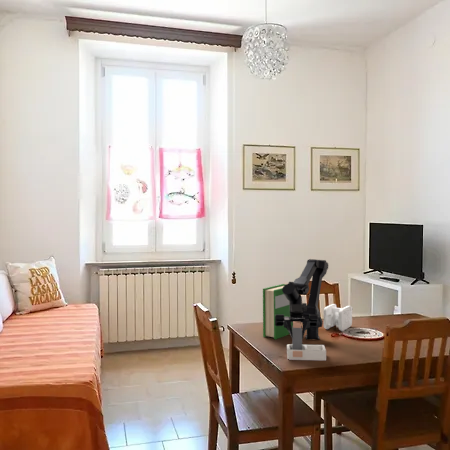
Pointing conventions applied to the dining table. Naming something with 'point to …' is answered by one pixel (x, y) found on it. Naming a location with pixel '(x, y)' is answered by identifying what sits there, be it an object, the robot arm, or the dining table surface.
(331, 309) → the cable organizer
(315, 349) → the socket strip
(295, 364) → the dining table surface
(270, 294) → the hardback book
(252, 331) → the dining table surface
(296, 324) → the gray rectangular block
